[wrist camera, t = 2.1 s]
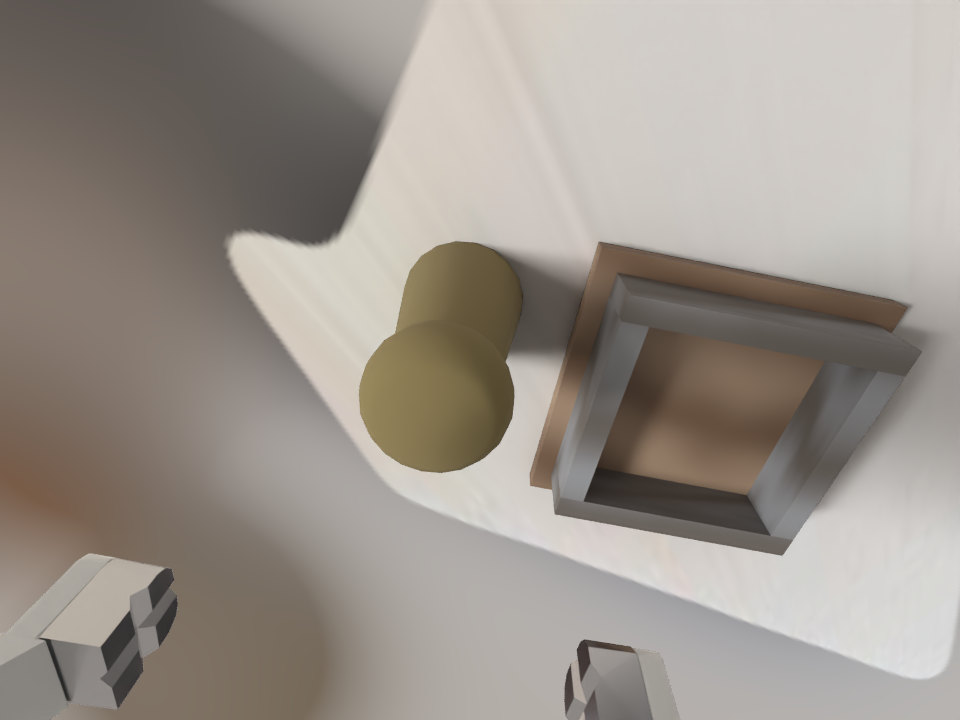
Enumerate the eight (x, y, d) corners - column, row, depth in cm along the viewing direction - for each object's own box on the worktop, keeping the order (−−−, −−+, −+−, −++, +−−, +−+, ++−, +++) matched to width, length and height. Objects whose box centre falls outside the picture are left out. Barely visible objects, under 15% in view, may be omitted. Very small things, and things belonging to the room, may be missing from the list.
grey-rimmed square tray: (598, 241, 23) (614, 266, 19) (892, 300, 23) (960, 335, 20) (529, 474, 30) (531, 524, 26) (758, 516, 30) (791, 571, 26)
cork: (438, 217, 23) (382, 299, 13) (546, 281, 24) (568, 402, 14) (384, 318, 25) (304, 450, 16) (484, 372, 27) (466, 527, 17)
